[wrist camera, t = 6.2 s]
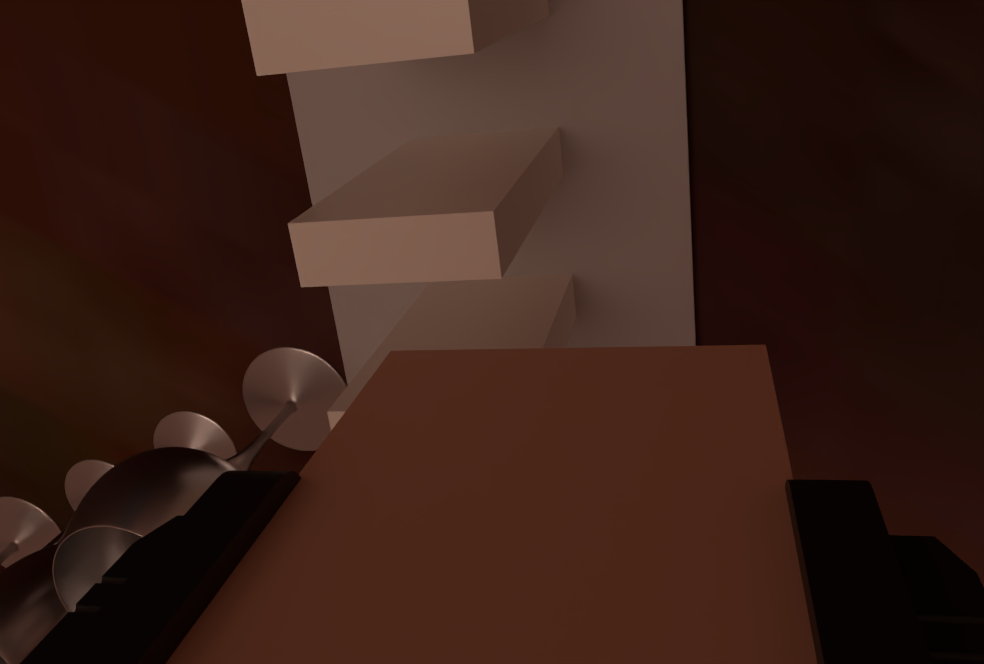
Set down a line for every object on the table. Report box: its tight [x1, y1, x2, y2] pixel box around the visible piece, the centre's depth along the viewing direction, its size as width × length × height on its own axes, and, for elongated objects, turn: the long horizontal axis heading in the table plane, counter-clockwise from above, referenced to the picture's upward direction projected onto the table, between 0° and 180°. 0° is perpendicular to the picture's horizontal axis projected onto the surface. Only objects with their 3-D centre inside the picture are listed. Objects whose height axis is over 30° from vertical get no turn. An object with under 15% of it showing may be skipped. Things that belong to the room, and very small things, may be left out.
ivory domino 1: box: [241, 0, 549, 76], centre depth 24 cm, size 5×2×10 cm, turn 97°
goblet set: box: [0, 346, 347, 664], centre depth 35 cm, size 28×6×13 cm, turn 122°
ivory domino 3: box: [327, 274, 576, 430], centre depth 28 cm, size 5×2×10 cm, turn 97°
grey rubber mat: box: [286, 0, 696, 385], centre depth 34 cm, size 13×34×1 cm, turn 7°
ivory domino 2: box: [288, 126, 564, 287], centre depth 26 cm, size 5×2×10 cm, turn 97°
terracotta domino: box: [166, 345, 817, 664], centre depth 8 cm, size 5×2×10 cm, turn 96°
